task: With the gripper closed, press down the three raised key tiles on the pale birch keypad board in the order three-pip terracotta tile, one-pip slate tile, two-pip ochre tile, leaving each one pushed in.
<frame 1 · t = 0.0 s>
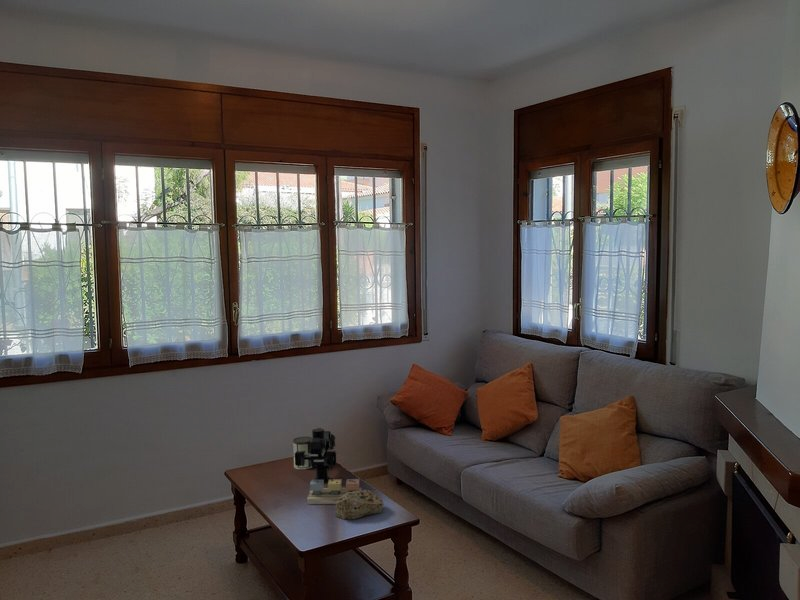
hand: (313, 464, 287), 17 cm above the table, tool horizontal, fingers open, 9 cm apart
rock: (359, 513, 274), on the table
ochre tile 2: (334, 487, 290), point 5 cm above the table, slide at 0.0 cm
keypad board: (335, 498, 290), on the table
terracotta tile 3: (352, 487, 290), point 5 cm above the table, slide at 0.0 cm
slate tile 1: (316, 487, 290), point 5 cm above the table, slide at 0.0 cm
coffee can: (303, 466, 333), on the table
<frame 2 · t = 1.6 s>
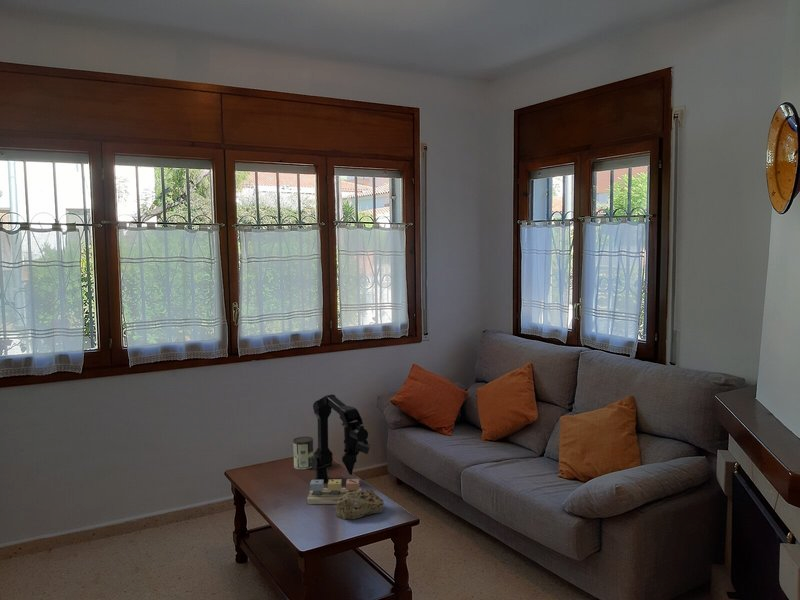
hand: (351, 471, 289), 12 cm above the table, tool pointing down, fingers open, 8 cm apart
nothing on the table moved.
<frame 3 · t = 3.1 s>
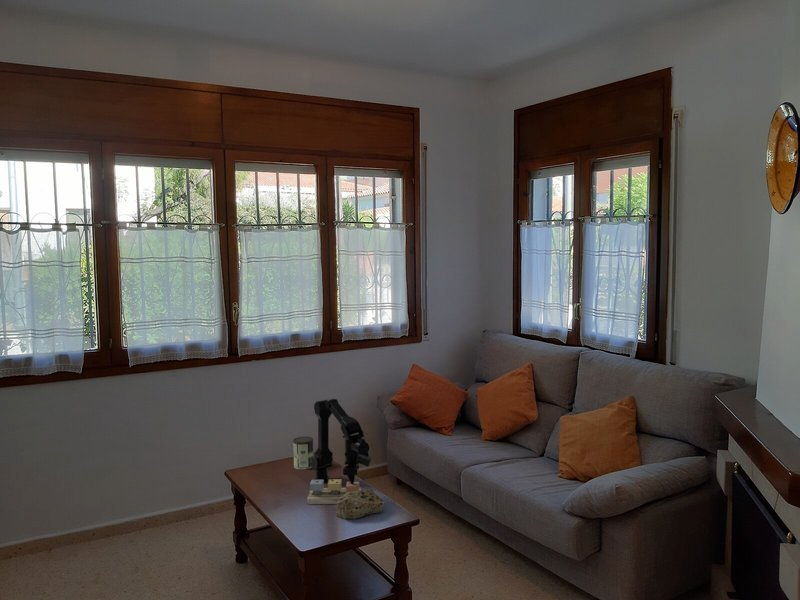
hand: (352, 483, 290), 7 cm above the table, tool pointing down, fingers closed, pressing on terracotta tile 3
terracotta tile 3: (352, 489, 290), point 4 cm above the table, slide at 1.2 cm, touching gripper
everything else where it was.
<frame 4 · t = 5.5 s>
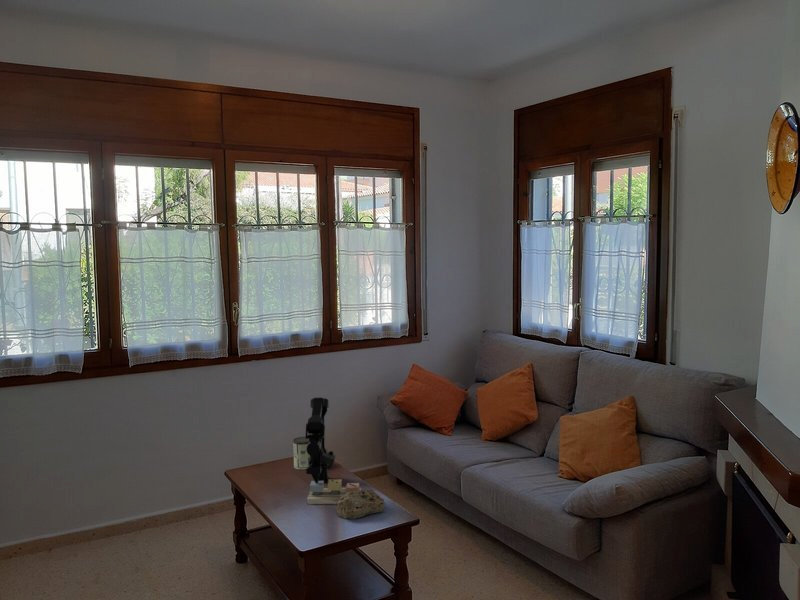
hand: (316, 482, 290), 7 cm above the table, tool pointing down, fingers closed, pressing on slate tile 1
terracotta tile 3: (352, 491, 290), point 3 cm above the table, slide at 1.8 cm
slate tile 1: (316, 489, 290), point 4 cm above the table, slide at 0.6 cm, touching gripper
everything else where it was.
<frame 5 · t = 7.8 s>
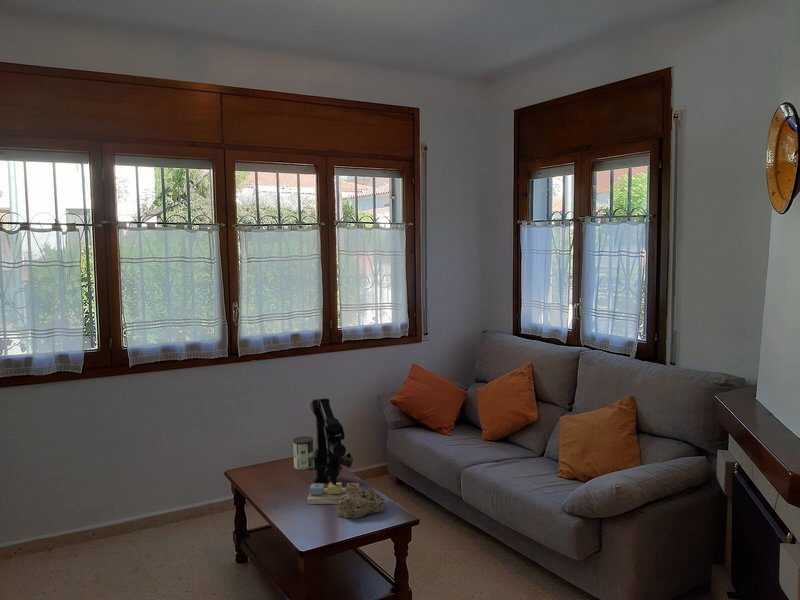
hand: (334, 484, 290), 6 cm above the table, tool pointing down, fingers closed, pressing on ochre tile 2
ochre tile 2: (334, 490, 290), point 4 cm above the table, slide at 1.5 cm, touching gripper
slate tile 1: (317, 491, 290), point 3 cm above the table, slide at 1.8 cm
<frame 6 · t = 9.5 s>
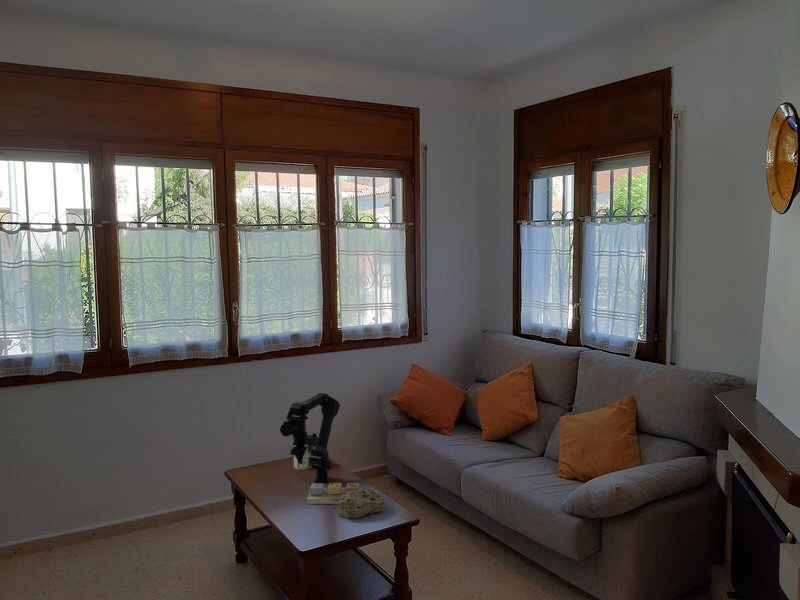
hand: (300, 463, 298), 13 cm above the table, tool pointing down, fingers closed
ochre tile 2: (334, 491, 290), point 3 cm above the table, slide at 1.6 cm
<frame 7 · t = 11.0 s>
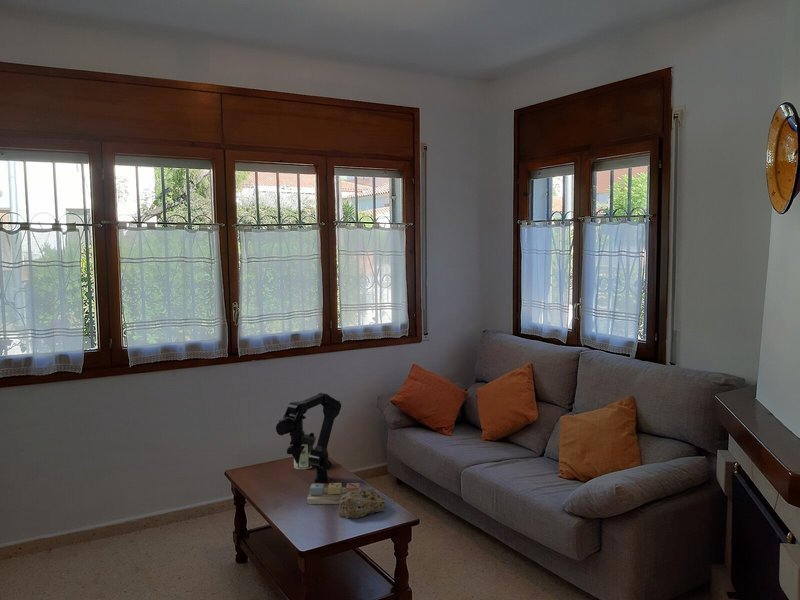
hand: (297, 463, 299), 13 cm above the table, tool pointing down, fingers closed
at the end: terracotta tile 3 slide at 1.8 cm; slate tile 1 slide at 1.8 cm; ochre tile 2 slide at 1.6 cm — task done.
